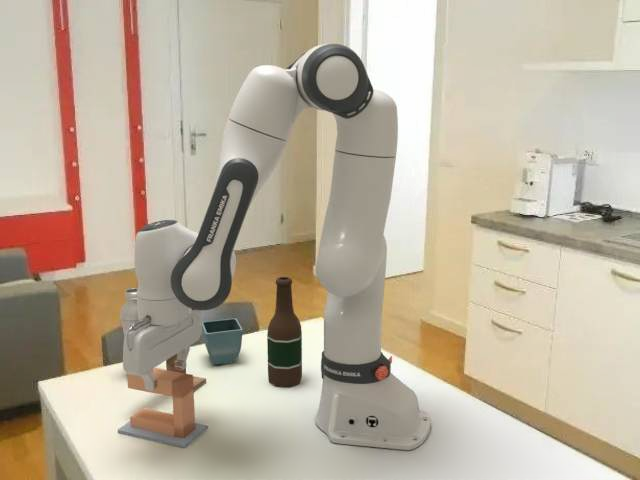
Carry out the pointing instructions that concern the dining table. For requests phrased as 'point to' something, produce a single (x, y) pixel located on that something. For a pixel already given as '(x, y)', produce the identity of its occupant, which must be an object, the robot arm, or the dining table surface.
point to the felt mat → (163, 435)
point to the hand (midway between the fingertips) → (166, 378)
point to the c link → (183, 404)
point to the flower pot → (222, 340)
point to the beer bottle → (284, 339)
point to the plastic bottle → (129, 310)
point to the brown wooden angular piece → (171, 367)
